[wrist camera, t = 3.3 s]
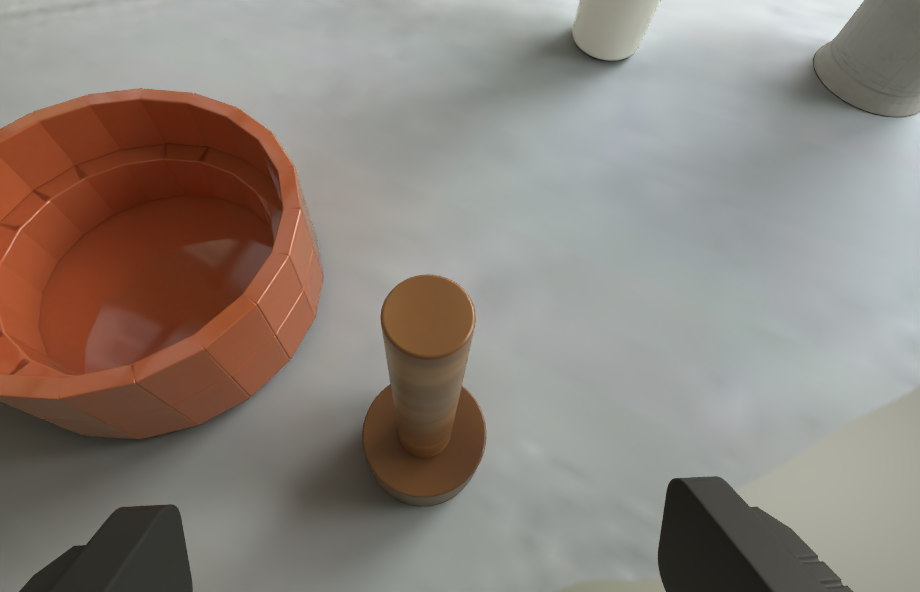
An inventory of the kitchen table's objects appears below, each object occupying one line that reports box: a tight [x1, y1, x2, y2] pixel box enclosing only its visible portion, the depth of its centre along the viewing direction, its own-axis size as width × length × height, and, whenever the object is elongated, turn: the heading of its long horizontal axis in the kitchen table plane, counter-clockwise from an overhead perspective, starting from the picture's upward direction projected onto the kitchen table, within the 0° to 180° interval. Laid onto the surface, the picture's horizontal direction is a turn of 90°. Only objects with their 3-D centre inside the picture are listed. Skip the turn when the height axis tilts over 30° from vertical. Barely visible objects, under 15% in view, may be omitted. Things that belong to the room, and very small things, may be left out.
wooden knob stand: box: [362, 275, 486, 506], centre depth 18 cm, size 5×5×14 cm
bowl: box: [0, 88, 324, 439], centre depth 24 cm, size 16×16×6 cm
